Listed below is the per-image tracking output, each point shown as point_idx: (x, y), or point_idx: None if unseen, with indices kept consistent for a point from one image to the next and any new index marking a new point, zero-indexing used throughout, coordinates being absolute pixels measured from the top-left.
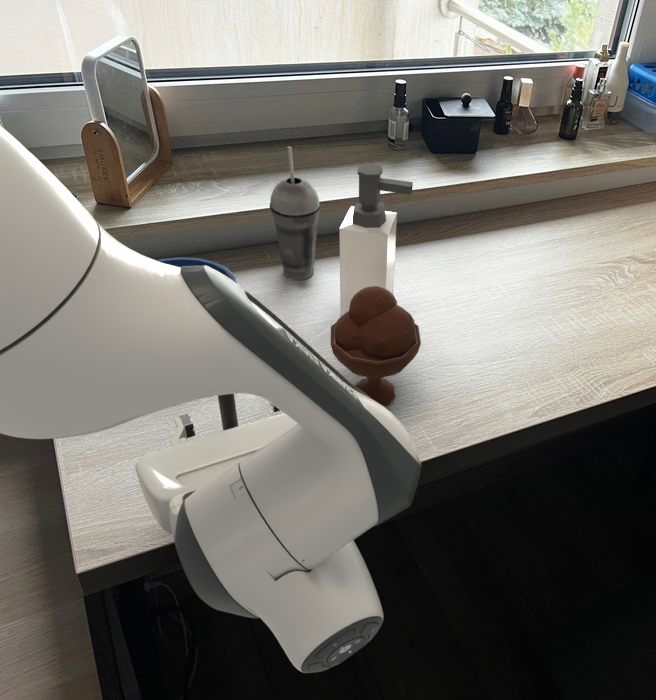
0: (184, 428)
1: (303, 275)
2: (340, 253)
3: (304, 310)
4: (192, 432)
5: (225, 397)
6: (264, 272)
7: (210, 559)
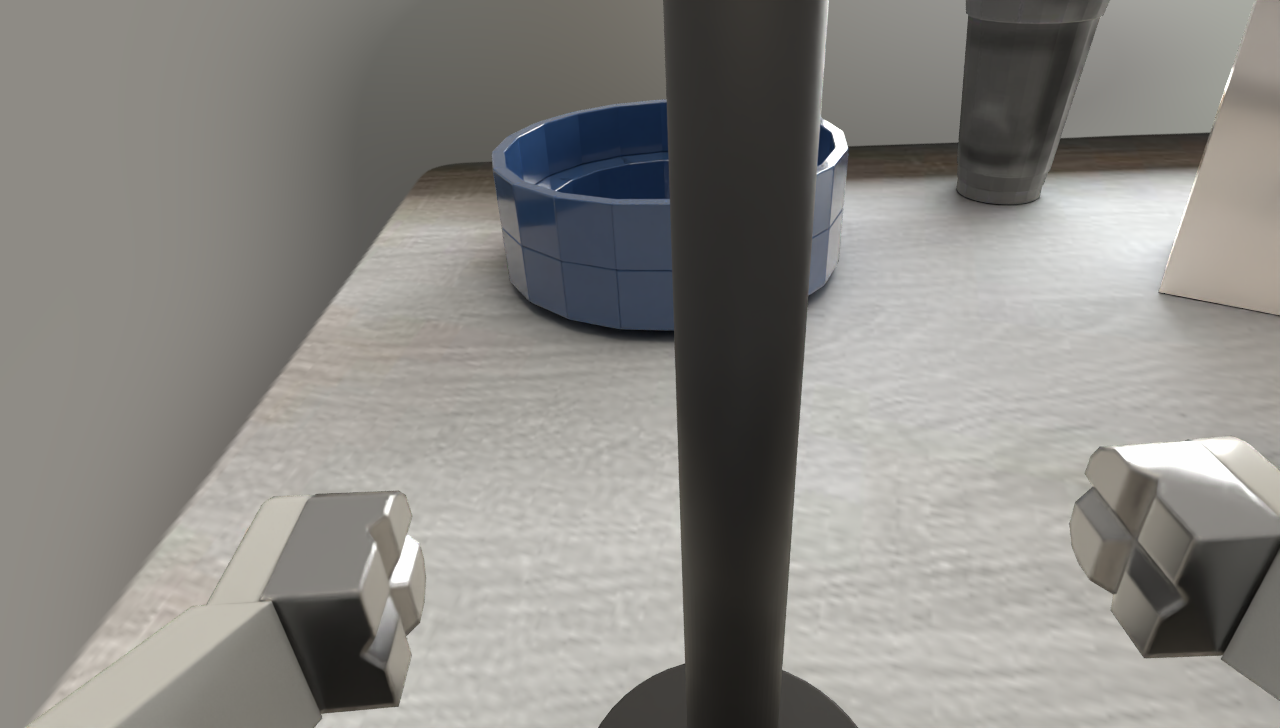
0: (264, 630)
1: (1017, 190)
2: (1250, 28)
3: (1027, 265)
4: (363, 677)
5: (728, 422)
6: (904, 185)
7: None
